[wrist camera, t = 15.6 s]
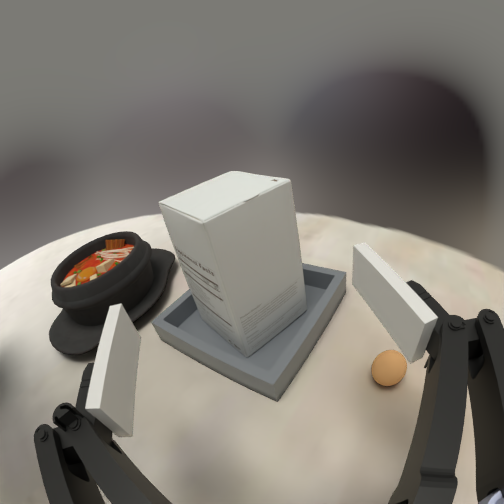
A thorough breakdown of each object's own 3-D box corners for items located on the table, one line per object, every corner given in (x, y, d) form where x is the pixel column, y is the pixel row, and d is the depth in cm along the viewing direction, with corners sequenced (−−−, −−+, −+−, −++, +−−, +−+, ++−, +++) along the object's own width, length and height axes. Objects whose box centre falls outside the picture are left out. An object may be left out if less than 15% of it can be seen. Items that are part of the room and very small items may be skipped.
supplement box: (256, 281, 37) (232, 168, 29) (309, 310, 31) (294, 177, 23) (199, 318, 33) (155, 200, 25) (246, 360, 26) (201, 220, 19)
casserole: (128, 255, 53) (112, 217, 48) (204, 261, 45) (189, 213, 41) (39, 340, 34) (10, 299, 30) (103, 384, 26) (61, 333, 22)
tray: (161, 339, 31) (151, 322, 30) (240, 266, 42) (235, 249, 40) (277, 401, 22) (273, 384, 21) (345, 292, 33) (346, 272, 31)
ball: (364, 387, 22) (368, 367, 20) (375, 360, 24) (380, 339, 22) (396, 396, 20) (405, 377, 18) (406, 368, 22) (413, 347, 20)
